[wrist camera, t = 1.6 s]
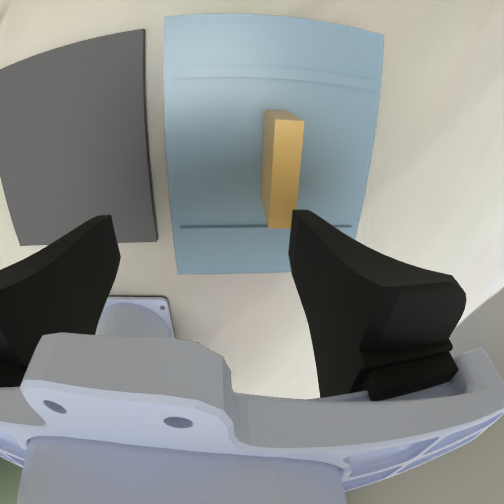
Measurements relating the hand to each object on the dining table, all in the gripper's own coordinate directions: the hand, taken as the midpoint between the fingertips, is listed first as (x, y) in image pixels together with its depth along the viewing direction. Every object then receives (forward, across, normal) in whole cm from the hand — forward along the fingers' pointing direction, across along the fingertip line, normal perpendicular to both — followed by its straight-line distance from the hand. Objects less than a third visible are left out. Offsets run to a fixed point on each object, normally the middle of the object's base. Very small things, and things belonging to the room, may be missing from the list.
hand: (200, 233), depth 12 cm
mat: (+10, +12, -2) cm, 16 cm away
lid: (+7, -4, -2) cm, 8 cm away
